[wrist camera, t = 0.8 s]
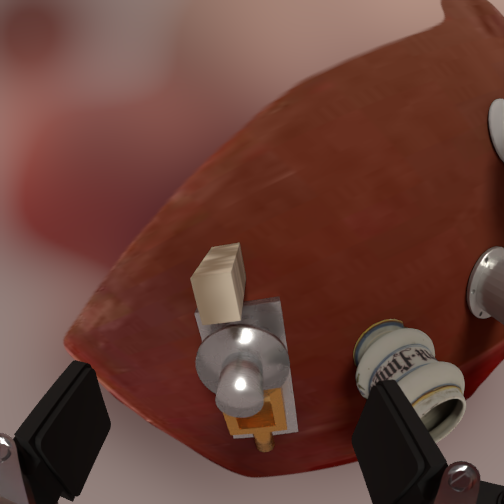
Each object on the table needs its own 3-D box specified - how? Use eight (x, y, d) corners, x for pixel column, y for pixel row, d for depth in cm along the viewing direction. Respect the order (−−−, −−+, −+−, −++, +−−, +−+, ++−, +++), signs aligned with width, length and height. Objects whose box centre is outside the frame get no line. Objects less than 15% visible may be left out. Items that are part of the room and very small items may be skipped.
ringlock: (279, 296, 37) (288, 351, 25) (297, 425, 43) (305, 484, 30) (196, 308, 38) (171, 363, 25) (234, 432, 44) (228, 490, 31)
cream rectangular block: (239, 242, 36) (230, 272, 24) (246, 277, 37) (240, 320, 25) (211, 247, 36) (190, 278, 24) (218, 281, 37) (202, 325, 25)
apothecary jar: (429, 332, 38) (491, 399, 21) (381, 387, 41) (421, 466, 23) (382, 297, 37) (451, 369, 20) (329, 361, 40) (362, 454, 22)
